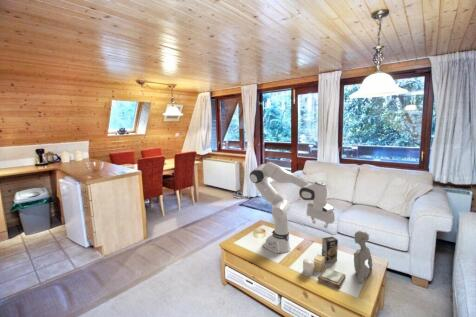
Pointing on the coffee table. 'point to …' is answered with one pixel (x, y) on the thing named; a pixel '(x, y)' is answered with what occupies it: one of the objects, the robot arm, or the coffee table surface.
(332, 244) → the coffee box
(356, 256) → the elf figurine
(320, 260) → the carton
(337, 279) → the wooden picture frame
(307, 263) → the white rounded cylinder
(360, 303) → the coffee table surface
